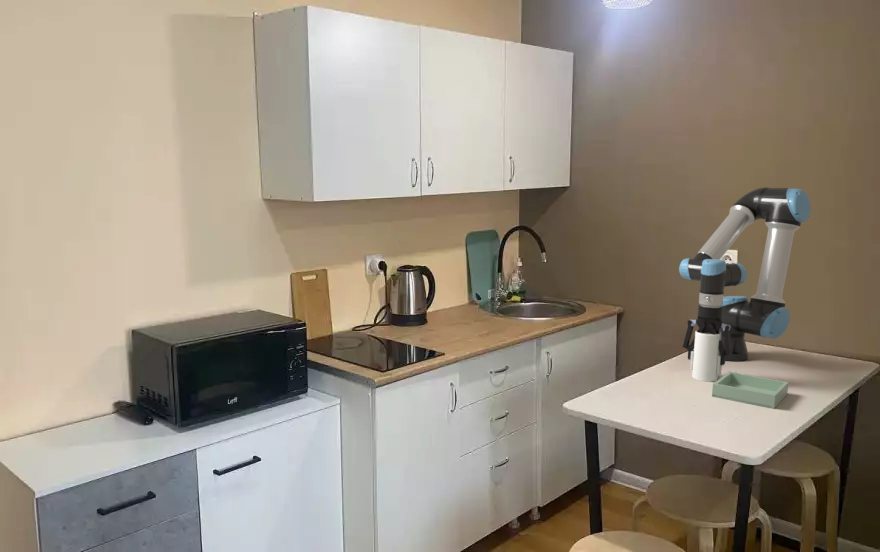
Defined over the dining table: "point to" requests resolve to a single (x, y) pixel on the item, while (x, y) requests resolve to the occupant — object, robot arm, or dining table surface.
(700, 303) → the robot arm
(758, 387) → the bin
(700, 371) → the cup
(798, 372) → the dining table surface
